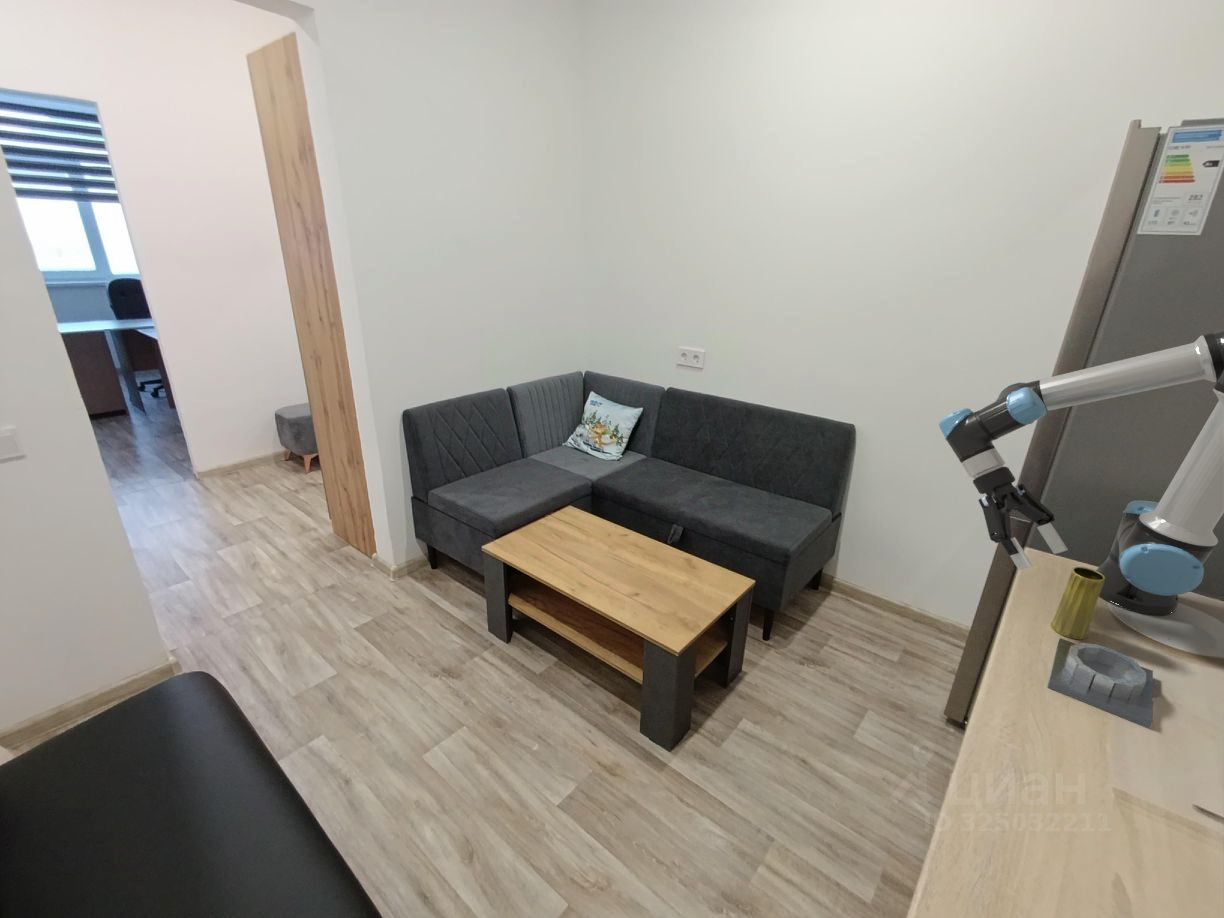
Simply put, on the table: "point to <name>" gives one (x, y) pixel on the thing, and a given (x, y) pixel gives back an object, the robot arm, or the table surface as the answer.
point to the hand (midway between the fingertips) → (1044, 560)
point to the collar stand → (1103, 680)
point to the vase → (1078, 603)
